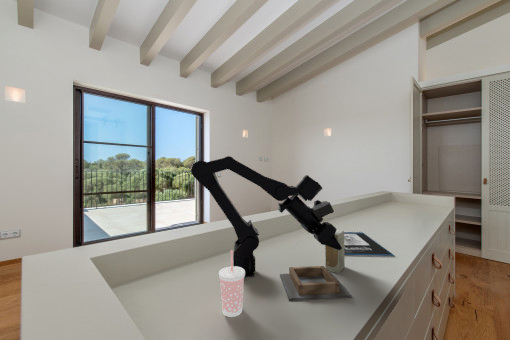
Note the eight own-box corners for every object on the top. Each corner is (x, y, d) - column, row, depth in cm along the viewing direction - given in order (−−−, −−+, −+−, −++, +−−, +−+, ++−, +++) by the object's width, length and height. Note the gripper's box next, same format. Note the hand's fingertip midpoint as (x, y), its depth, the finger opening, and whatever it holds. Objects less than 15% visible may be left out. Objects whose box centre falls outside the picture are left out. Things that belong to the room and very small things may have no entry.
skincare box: (332, 263, 77) (331, 228, 77) (345, 266, 74) (344, 230, 74) (324, 270, 72) (324, 232, 72) (338, 274, 69) (338, 234, 69)
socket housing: (289, 300, 55) (289, 288, 55) (279, 276, 68) (279, 265, 68) (351, 297, 56) (351, 285, 56) (330, 273, 69) (330, 263, 69)
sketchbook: (334, 257, 84) (334, 252, 84) (318, 234, 114) (318, 230, 114) (394, 258, 82) (394, 252, 82) (361, 234, 112) (361, 230, 112)
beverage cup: (220, 303, 55) (219, 245, 55) (245, 302, 55) (244, 245, 55) (217, 319, 48) (216, 255, 49) (245, 318, 49) (245, 254, 49)
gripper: (328, 196, 63) (367, 234, 64) (308, 190, 82) (338, 219, 83) (302, 225, 63) (341, 262, 64) (287, 213, 81) (317, 242, 82)
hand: (334, 244), depth 73 cm, fingers open, 9 cm apart
